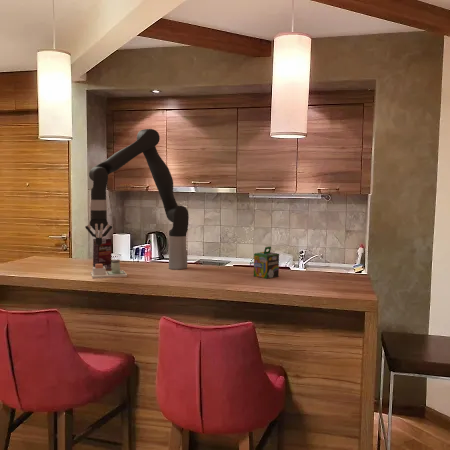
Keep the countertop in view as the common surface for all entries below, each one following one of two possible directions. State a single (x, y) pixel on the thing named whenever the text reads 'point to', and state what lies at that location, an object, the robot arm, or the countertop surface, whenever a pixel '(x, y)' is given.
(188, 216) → the robot arm
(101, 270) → the button housing
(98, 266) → the button
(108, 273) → the white flat panel
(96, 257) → the supplement box
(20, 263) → the countertop surface
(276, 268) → the chalk box
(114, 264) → the cylinder
